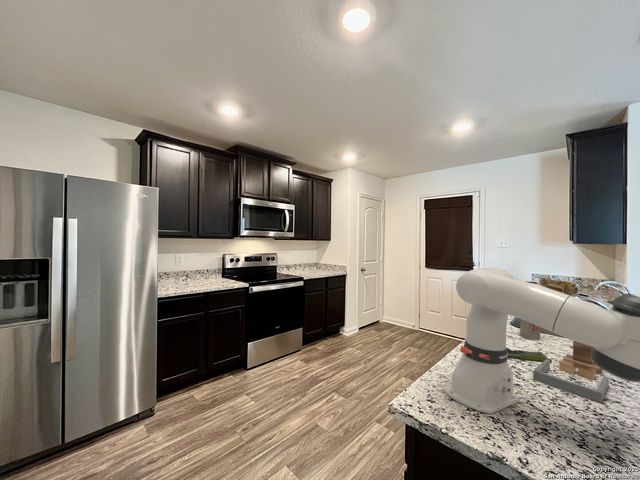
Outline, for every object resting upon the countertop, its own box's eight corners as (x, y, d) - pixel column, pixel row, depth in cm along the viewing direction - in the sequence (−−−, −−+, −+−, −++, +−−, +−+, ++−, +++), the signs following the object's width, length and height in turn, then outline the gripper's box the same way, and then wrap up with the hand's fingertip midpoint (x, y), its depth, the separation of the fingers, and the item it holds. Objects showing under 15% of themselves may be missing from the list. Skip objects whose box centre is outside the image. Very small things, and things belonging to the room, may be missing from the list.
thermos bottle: (542, 341, 128) (544, 283, 128) (523, 338, 131) (524, 282, 131) (536, 335, 135) (537, 281, 135) (517, 333, 138) (518, 280, 138)
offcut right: (593, 380, 92) (593, 372, 92) (577, 375, 96) (577, 367, 95) (595, 377, 95) (595, 369, 95) (580, 372, 98) (580, 364, 98)
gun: (531, 349, 119) (553, 366, 104) (485, 345, 123) (500, 360, 108) (532, 344, 119) (554, 360, 104) (485, 339, 123) (500, 354, 108)
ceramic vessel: (593, 295, 202) (581, 270, 197) (576, 317, 197) (564, 292, 191) (558, 289, 224) (546, 266, 218) (542, 308, 218) (530, 286, 212)
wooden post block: (599, 374, 97) (600, 336, 97) (562, 363, 105) (563, 328, 105) (602, 368, 101) (603, 331, 101) (567, 358, 109) (568, 324, 109)
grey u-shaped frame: (601, 403, 79) (601, 393, 79) (533, 379, 92) (533, 370, 92) (608, 386, 88) (608, 377, 88) (545, 366, 102) (545, 359, 102)
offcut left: (573, 374, 96) (573, 366, 96) (559, 370, 100) (559, 362, 100) (576, 371, 99) (576, 363, 99) (562, 367, 102) (562, 359, 102)
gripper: (702, 372, 76) (629, 354, 87) (699, 354, 88) (634, 341, 99) (703, 350, 76) (629, 335, 87) (699, 336, 88) (635, 324, 99)
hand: (632, 338), depth 93 cm, fingers open, 8 cm apart
